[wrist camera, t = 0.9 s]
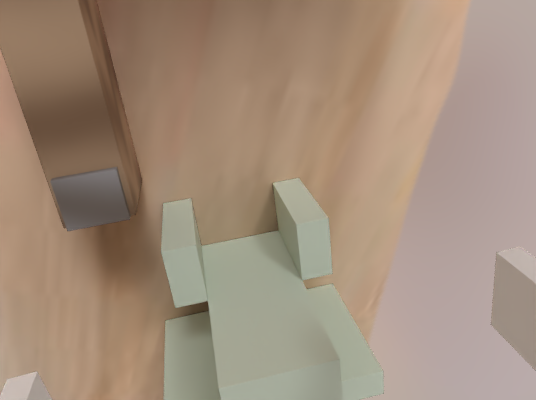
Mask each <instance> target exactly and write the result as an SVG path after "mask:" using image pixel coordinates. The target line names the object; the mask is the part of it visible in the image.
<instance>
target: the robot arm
mask: <svg viewBox="0 0 536 400" xmlns="http://www.w3.org/2000/svg"><path fill="white" fill-rule="evenodd" d="M491 325H492V326H493V327H494V328H495V329H496V330H497V331H498V332H499V334H500V335H502V336H503V338H504V339H505V340H506V341H507V342H508V343H509V344H510V345H511V346H512V347H513V348H514V349H515V350H516V351H517V352H518V353H519V354H520V355H521V356H522V357H523V358H524V359H525V360H526V361H527V362H528V363H529V364H530V365H531V366H532V367H533V369H534V370H535V371H536V257H534V256H533V255H532V254H530V253H529V252H527V251H526V250H525V249H523V248H522V247H515V248H512V249H508V250H504V251H500V252H496V263H495V277H494V289H493V302H492V316H491ZM0 400H52V398H51V396H50V394H49V392H48V391H47V389H46V387H45V385H44V383H43V381H42V379H41V377H40V376H39V374H38V372H37V371H36V372H32V373H29V374H25V375H21V376H17V377H13V378H9V379H7V380H6V383H5V385H4V387H3V390H2V392H1V394H0Z"/></svg>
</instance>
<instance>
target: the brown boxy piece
mask: <svg viewBox="0 0 536 400" xmlns="http://www.w3.org/2000/svg"><path fill="white" fill-rule="evenodd" d="M0 48H1V51H2V54H3V57H4V60H5V63H6V65H7V68H8V71H9V74H10V77H11V80H12V82H13V85H14V88H15V91H16V94H17V97H18V99H19V102H20V105H21V108H22V111H23V114H24V117H25V119H26V122H27V125H28V128H29V131H30V134H31V136H32V139H33V142H34V145H35V148H36V151H37V153H38V156H39V159H40V162H41V165H42V168H43V170H44V173H45V176H46V179H47V182H48V185H49V187H50V190H51V193H52V196H53V199H54V202H55V205H56V207H57V210H58V213H59V216H60V219H61V222H62V224H63V227H64V228H67V231H72V230H77V229H82V228H88V227H93V226H98V225H103V224H109V223H114V222H119V221H124V220H130V217H131V216H132V215H136V212H137V206H138V200H139V194H140V189H141V183H142V177H141V173H140V169H139V165H138V161H137V157H136V153H135V149H134V145H133V141H132V138H131V134H130V130H129V126H128V122H127V118H126V114H125V110H124V106H123V102H122V98H121V95H120V91H119V87H118V83H117V79H116V75H115V71H114V67H113V63H112V59H111V56H110V52H109V48H108V44H107V40H106V36H105V32H104V28H103V24H102V20H101V16H100V13H99V9H98V5H97V1H96V0H0Z"/></svg>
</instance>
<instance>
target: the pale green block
mask: <svg viewBox="0 0 536 400" xmlns="http://www.w3.org/2000/svg"><path fill="white" fill-rule="evenodd" d="M273 191H274V199H275V206H276V214H277V222H278V231H273V232H268V233H263V234H258V235H253V236H248V237H243V238H238V239H233V240H228V241H224V242H219V243H214V244H209V245H204V246H201V242H200V237H199V233H198V228H197V223H196V218H195V214H194V209H193V204H192V199H191V198H189V199H184V200H179V201H173V202H168V203H163V220H162V241H161V254H162V258H163V262H164V266H165V269H166V273H167V277H168V281H169V285H170V289H171V293H172V297H173V301H174V304H175V308H178V307H183V306H187V305H192V304H197V303H201V302H206V301H208V305H209V311H206V312H202V313H197V314H193V315H188V316H183V317H179V318H174V319H170V320H165V356H164V400H361V399H364V398H368V397H372V396H376V395H380V394H383V393H384V383H383V369H382V368H381V366H380V365H379V363H378V361H377V359H376V358H375V356H374V354H373V352H372V351H371V349H370V347H369V345H368V344H367V342H366V340H365V338H364V337H363V335H362V333H361V331H360V330H359V328H358V326H357V325H356V323H355V321H354V319H353V318H352V316H351V314H350V313H349V311H348V309H347V307H346V306H345V304H344V302H343V300H342V299H341V297H340V295H339V294H338V292H337V290H336V288H335V287H334V285H333V283H332V284H328V285H323V286H319V287H314V288H310V289H306V287H305V285H304V283H303V281H302V280H306V279H311V278H315V277H320V276H325V275H329V274H333V273H332V259H331V245H330V231H329V218H328V217H327V215H326V214H325V213H324V211H323V210H322V209H321V207H320V206H319V205H318V203H317V202H316V200H315V199H314V198H313V196H312V195H311V194H310V192H309V191H308V190H307V188H306V187H305V186H304V184H303V183H302V182H301V180H300V179H299V178H295V179H290V180H285V181H280V182H274V183H273Z"/></svg>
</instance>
